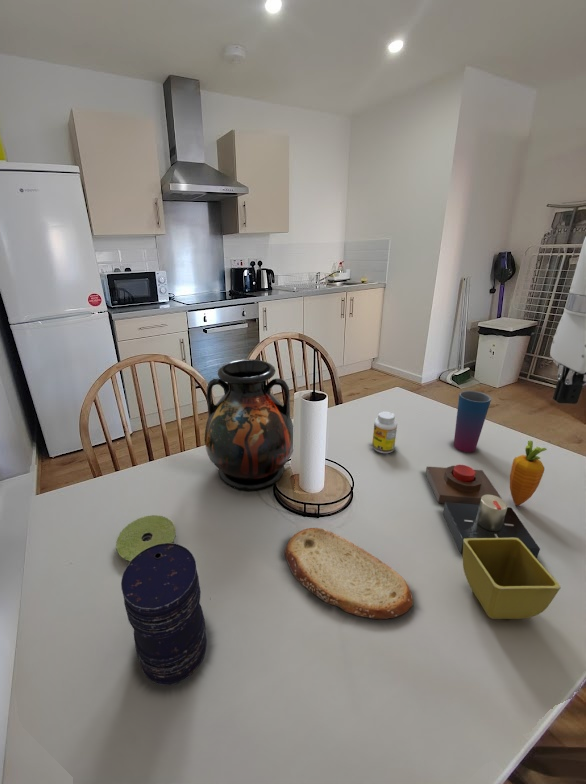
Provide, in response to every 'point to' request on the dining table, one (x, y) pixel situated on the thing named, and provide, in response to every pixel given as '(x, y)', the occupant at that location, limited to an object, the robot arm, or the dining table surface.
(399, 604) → the bread slice
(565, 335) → the robot arm
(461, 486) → the button block
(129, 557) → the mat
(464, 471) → the button
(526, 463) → the carrot
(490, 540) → the flower pot
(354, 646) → the dining table surface
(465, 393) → the cup
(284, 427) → the amphora vase
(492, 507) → the dial
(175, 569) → the navy ridged drum
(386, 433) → the supplement bottle
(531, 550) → the control panel
